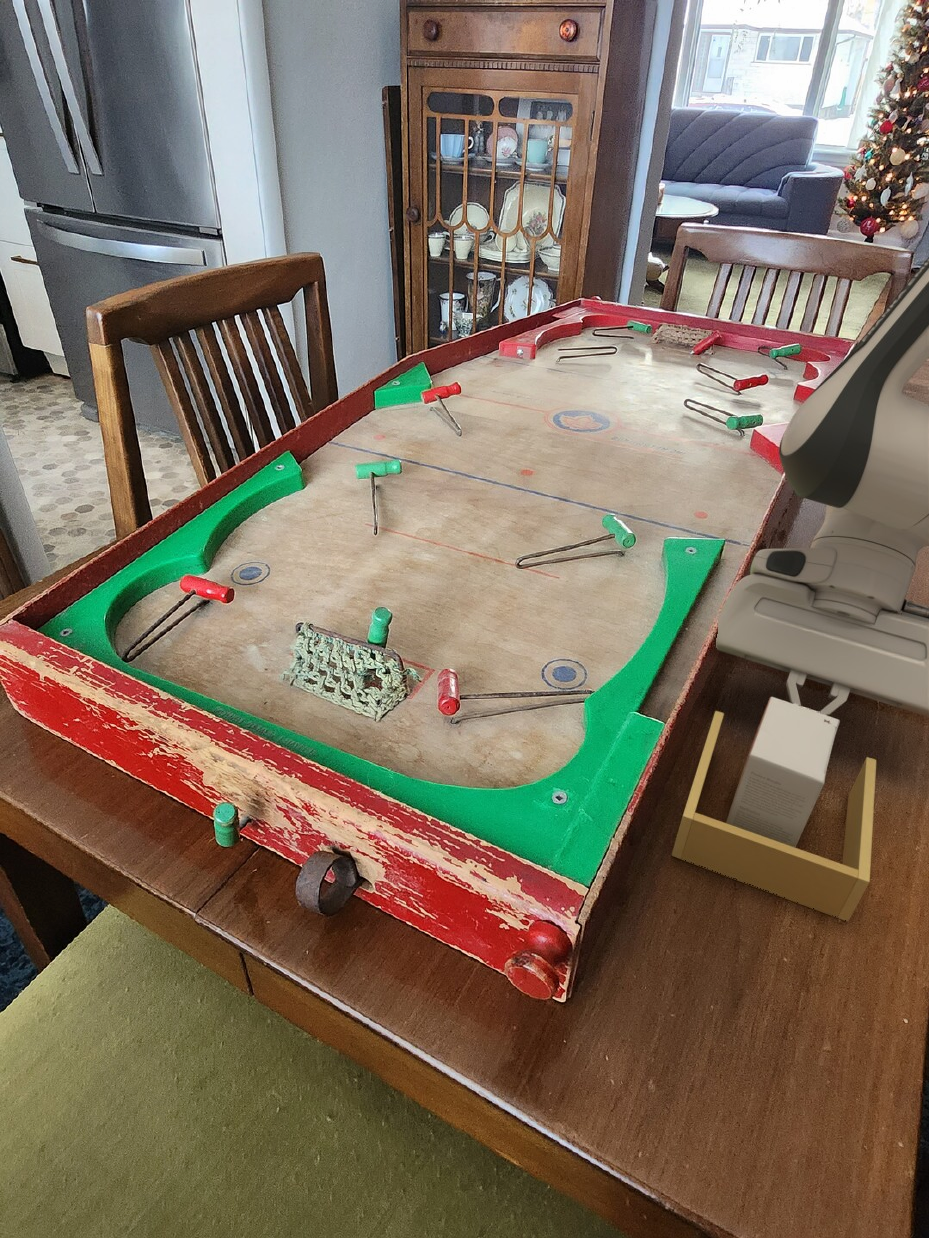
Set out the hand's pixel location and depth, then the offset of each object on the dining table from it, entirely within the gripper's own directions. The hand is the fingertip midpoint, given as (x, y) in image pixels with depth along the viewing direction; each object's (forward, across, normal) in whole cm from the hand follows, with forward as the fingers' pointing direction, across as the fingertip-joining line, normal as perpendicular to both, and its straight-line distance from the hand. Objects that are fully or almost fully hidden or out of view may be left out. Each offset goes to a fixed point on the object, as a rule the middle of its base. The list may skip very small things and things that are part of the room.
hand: (802, 728), depth 70 cm
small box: (+9, +1, +2) cm, 10 cm away
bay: (+9, 0, +2) cm, 10 cm away
